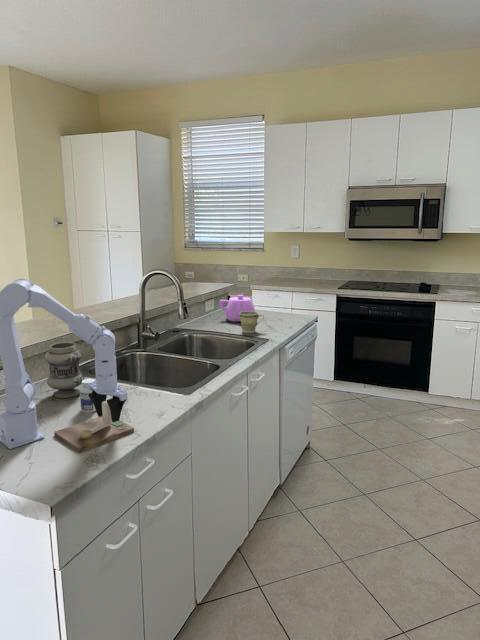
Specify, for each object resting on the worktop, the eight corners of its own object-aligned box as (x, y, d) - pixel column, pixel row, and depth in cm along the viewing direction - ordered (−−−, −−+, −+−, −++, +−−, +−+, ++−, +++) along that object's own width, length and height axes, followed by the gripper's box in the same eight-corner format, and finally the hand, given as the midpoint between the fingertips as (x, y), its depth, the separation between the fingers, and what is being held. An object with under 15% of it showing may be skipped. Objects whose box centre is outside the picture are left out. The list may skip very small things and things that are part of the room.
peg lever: (85, 439, 130) (83, 415, 129) (77, 437, 132) (76, 412, 130) (114, 425, 139) (113, 402, 138) (107, 422, 141) (106, 399, 139)
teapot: (218, 317, 290) (218, 292, 287) (253, 317, 292) (253, 292, 288) (220, 326, 268) (220, 299, 265) (257, 325, 270) (258, 299, 266)
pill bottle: (92, 405, 157) (90, 376, 155) (102, 409, 154) (100, 380, 152) (77, 410, 153) (75, 381, 151) (87, 414, 150) (85, 384, 148)
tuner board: (79, 452, 126) (79, 447, 126) (54, 435, 136) (54, 431, 135) (134, 431, 138) (133, 427, 138) (107, 417, 148) (107, 413, 147)
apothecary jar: (51, 390, 170) (47, 340, 166) (86, 387, 173) (83, 339, 169) (45, 403, 159) (40, 350, 155) (83, 400, 161) (79, 348, 157)
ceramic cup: (238, 333, 251) (238, 314, 249) (240, 329, 261) (240, 311, 259) (263, 334, 250) (263, 315, 248) (264, 329, 260) (264, 311, 257)
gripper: (134, 374, 134) (136, 419, 137) (100, 364, 142) (103, 407, 145) (114, 381, 129) (117, 428, 132) (80, 371, 137) (83, 415, 140)
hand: (108, 418), depth 138 cm, fingers open, 6 cm apart
